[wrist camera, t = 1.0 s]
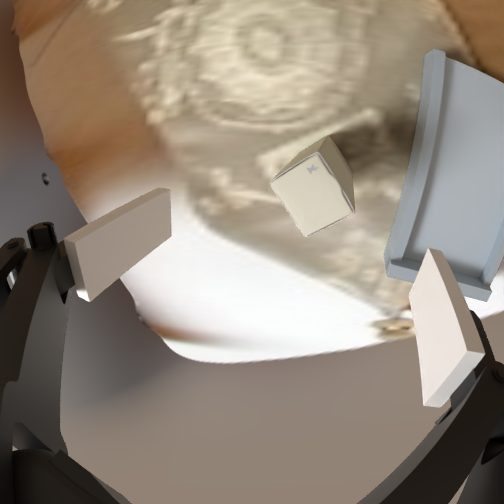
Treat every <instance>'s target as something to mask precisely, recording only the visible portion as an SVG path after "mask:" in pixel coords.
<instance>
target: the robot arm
mask: <svg viewBox="0 0 504 504" xmlns="http://www.w3.org/2000/svg"><path fill="white" fill-rule="evenodd" d="M27 234H28V238H29V242H30V245H31V249H29V248H27V246H26V242H25V240H24V238H12V239H10V240H9V241H8V242H6V243H5V244H4V245H3V246H2V247H1V248H0V504H131V503H130V502H129V501H128V500H127V499H126V498H125V497H124V496H123V495H122V494H120V493H118V492H117V491H116V490H114V489H113V488H111V487H109V486H108V485H107V484H105V483H104V482H102V481H101V480H100V479H98V478H97V477H95V476H94V475H93V474H91V473H90V472H89V471H87V470H86V469H85V468H83V467H82V466H81V465H79V464H78V463H77V462H76V461H74V460H73V459H72V458H70V457H69V456H68V451H67V448H66V444H65V442H64V440H63V437H62V435H61V432H60V389H61V373H62V361H63V351H64V343H65V335H66V328H67V321H68V314H69V309H70V303H71V298H72V293H71V290H70V288H71V287H73V286H74V285H75V286H76V289H77V293H78V296H79V297H81V298H83V299H85V300H87V301H89V302H90V301H92V300H93V299H94V298H95V297H96V296H97V295H99V294H100V293H101V292H102V291H103V290H105V289H106V288H107V287H108V286H109V285H111V283H113V282H114V281H115V280H117V279H118V278H119V277H120V276H121V275H123V274H124V273H125V272H126V271H128V270H129V269H130V268H131V267H133V266H134V265H135V264H136V263H138V262H139V261H140V260H141V259H143V258H144V257H145V256H146V255H148V254H149V253H150V252H152V251H153V250H154V249H155V248H157V247H158V246H159V245H161V244H162V243H163V242H164V241H166V240H167V239H168V238H170V237H171V236H172V234H171V202H170V189H164V188H157V189H155V190H153V191H151V192H149V193H146V194H144V195H142V196H140V197H138V198H136V199H134V200H132V201H130V202H129V203H127V204H125V205H123V206H121V207H119V208H117V209H115V210H113V211H111V212H109V213H108V214H106V215H104V216H102V217H100V218H98V219H97V220H95V221H93V222H91V223H89V224H88V225H86V226H84V227H82V228H81V229H79V230H77V231H76V232H74V233H72V234H70V235H69V236H67V237H66V238H64V240H63V241H61V242H60V243H58V242H57V237H56V232H55V228H54V224H53V223H51V222H42V223H39V224H36V225H34V226H32V227H30V228H29V229H28V230H27ZM9 274H10V277H11V279H12V282H13V288H12V290H11V289H10V287H9V284H8V281H7V276H8V275H9ZM409 299H410V304H411V310H412V315H413V321H414V326H415V333H416V339H417V345H418V353H419V361H420V370H421V380H422V391H423V405H424V406H433V407H441V406H442V405H443V404H444V403H445V402H446V401H447V400H448V399H449V398H450V399H451V407H450V408H449V409H448V410H447V411H446V412H445V413H444V414H443V415H442V416H441V417H440V418H439V419H438V420H437V421H436V422H435V424H436V425H435V426H434V428H433V429H432V430H431V431H430V432H429V434H428V435H427V436H426V437H425V438H424V440H423V441H422V442H421V443H420V444H419V445H418V446H417V448H416V449H415V450H414V451H413V452H412V453H411V454H410V455H409V456H408V457H407V458H406V459H405V460H404V461H403V462H402V463H401V464H400V465H399V467H397V468H396V469H395V470H394V471H393V472H392V473H391V474H390V475H389V476H388V477H387V478H386V479H385V480H384V481H383V482H382V483H381V484H379V485H378V486H377V487H376V488H375V489H374V490H373V491H371V492H370V493H369V494H368V495H367V496H366V497H364V498H363V499H362V500H361V501H360V502H358V503H357V504H448V503H449V502H450V501H451V499H452V498H453V497H454V495H455V494H456V492H457V491H458V490H459V488H460V487H461V485H462V484H463V482H464V481H465V479H466V478H467V476H468V475H469V477H468V479H467V482H466V484H465V486H464V489H463V491H462V493H461V495H460V498H459V500H458V502H457V504H504V365H503V364H502V363H500V362H497V361H495V358H494V355H493V352H492V349H491V346H490V344H489V341H488V338H486V337H487V336H486V333H485V331H484V328H483V325H482V323H481V320H480V319H479V317H478V316H477V315H476V314H475V312H474V311H472V310H469V308H468V306H467V303H466V301H465V298H464V296H463V294H462V292H461V289H460V287H459V285H458V283H457V281H456V279H455V277H454V274H453V272H452V270H451V268H450V266H449V264H448V262H447V260H446V258H445V256H444V255H443V253H442V251H440V250H436V249H433V248H429V247H428V249H427V252H426V254H425V257H424V260H423V262H422V265H421V267H420V270H419V272H418V275H417V277H416V279H415V282H414V284H413V286H412V289H411V291H410V293H409ZM12 445H13V446H14V447H15V448H17V449H18V450H16V451H12ZM469 473H470V474H469Z"/></svg>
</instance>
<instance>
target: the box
mask: <svg viewBox="0 0 504 504" xmlns="http://www.w3.org/2000/svg"><path fill="white" fill-rule="evenodd" d="M270 185H271V187H272V188H273V190H274V192H275V193H276V195H277V196H278V198H279V199H280V201H281V202H282V204H283V205H284V207H285V208H286V210H287V211H288V213H289V214H290V216H291V217H292V219H293V220H294V222H295V223H296V225H297V226H298V228H299V229H300V230H301V232H302V233H303V235H304V236H305V237H309V236H311V235H313V234H315V233H317V232H320V231H322V230H324V229H326V228H328V227H330V226H332V225H335V224H336V223H339V222H340V221H342V220H344V219H346V218H348V217H350V216H352V215H354V214H355V201H354V189H353V179H352V171H351V169H350V167H349V166H348V164H347V162H346V160H345V159H344V157H343V156H342V154H341V152H340V151H339V149H338V148H337V146H336V145H335V143H334V142H333V140H332V139H331V137H330V136H329V135H327V136H326V137H324V138H322V139H320V140H319V141H317V142H315V143H314V144H312V145H311V146H309V147H308V148H306V149H304V150H303V151H302V152H300V153H299V154H298V155H297V156H296V157H295V158H294V159H293V160H292V161H290V163H288V164H287V165H286V166H285V167H284V168H283V169H282V170H281V171H280V172H279V173H278V174H277V175H276V176H275V177H274V178H273V179H272V181H270Z"/></svg>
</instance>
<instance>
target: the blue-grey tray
mask: <svg viewBox="0 0 504 504" xmlns="http://www.w3.org/2000/svg"><path fill="white" fill-rule="evenodd" d="M428 247H429V248H433V249H436V250H440V251H442V253H443V255H444V256H445V258H446V260H447V262H448V264H449V266H450V268H451V270H452V272H453V274H454V277H455V279H456V281H457V283H458V285H459V287H460V289H461V292H462V294H463V296H466V297H470V298H474V299H477V300H481V301H485V302H487V300H488V298H489V297H490V295H491V293H492V290H491V289H490V285H491V283H492V281H493V279H494V277H495V275H496V273H497V270H498V268H499V266H500V264H501V262H502V259H503V257H504V83H502V82H500V81H498V80H496V79H494V78H492V77H491V76H489V75H487V74H485V73H482V72H480V71H478V70H476V69H474V68H472V67H470V66H467V65H465V64H463V63H460V62H458V61H455V60H453V59H450V58H448V57H445V52H443V51H441V50H438V49H435V48H434V49H432V50H431V51H430V52H428V53H427V54H426V55H425V57H424V69H423V80H422V89H421V97H420V104H419V111H418V118H417V124H416V130H415V135H414V141H413V146H412V151H411V156H410V161H409V165H408V170H407V174H406V178H405V183H404V187H403V191H402V195H401V198H400V202H399V206H398V210H397V213H396V217H395V220H394V224H393V227H392V230H391V234H390V237H389V240H388V243H387V246H386V249H385V252H384V259H385V266H386V273H387V276H388V277H392V278H396V279H400V280H403V281H407V282H411V283H414V282H415V279H416V277H417V275H418V272H419V270H420V267H421V265H422V262H423V260H424V257H425V254H426V252H427V249H428Z"/></svg>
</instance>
